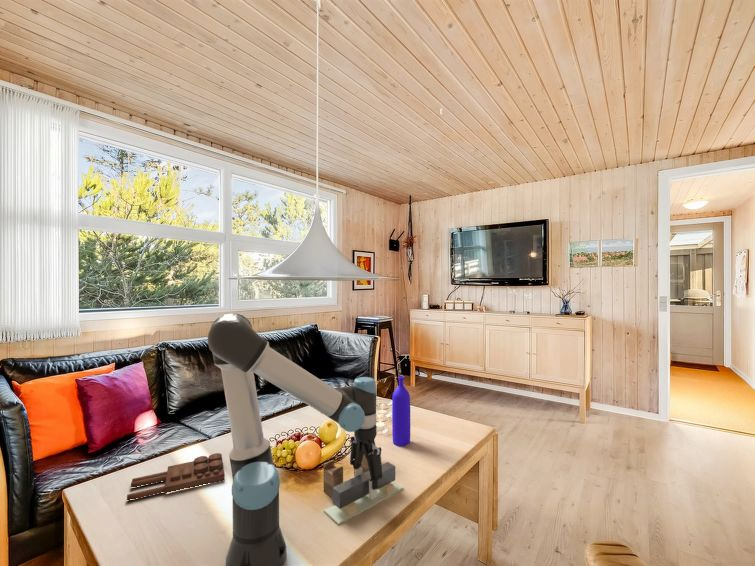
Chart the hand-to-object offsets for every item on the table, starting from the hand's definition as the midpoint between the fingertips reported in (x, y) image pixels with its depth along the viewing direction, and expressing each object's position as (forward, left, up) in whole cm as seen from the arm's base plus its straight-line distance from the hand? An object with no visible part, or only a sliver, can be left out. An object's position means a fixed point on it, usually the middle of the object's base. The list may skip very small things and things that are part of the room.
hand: (365, 492), depth 119 cm
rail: (0, 0, 0) cm, 0 cm away
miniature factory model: (-45, +55, -3) cm, 71 cm away
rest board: (0, 0, -3) cm, 3 cm away
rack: (+2, +10, -3) cm, 11 cm away
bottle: (+39, +22, -3) cm, 45 cm away
